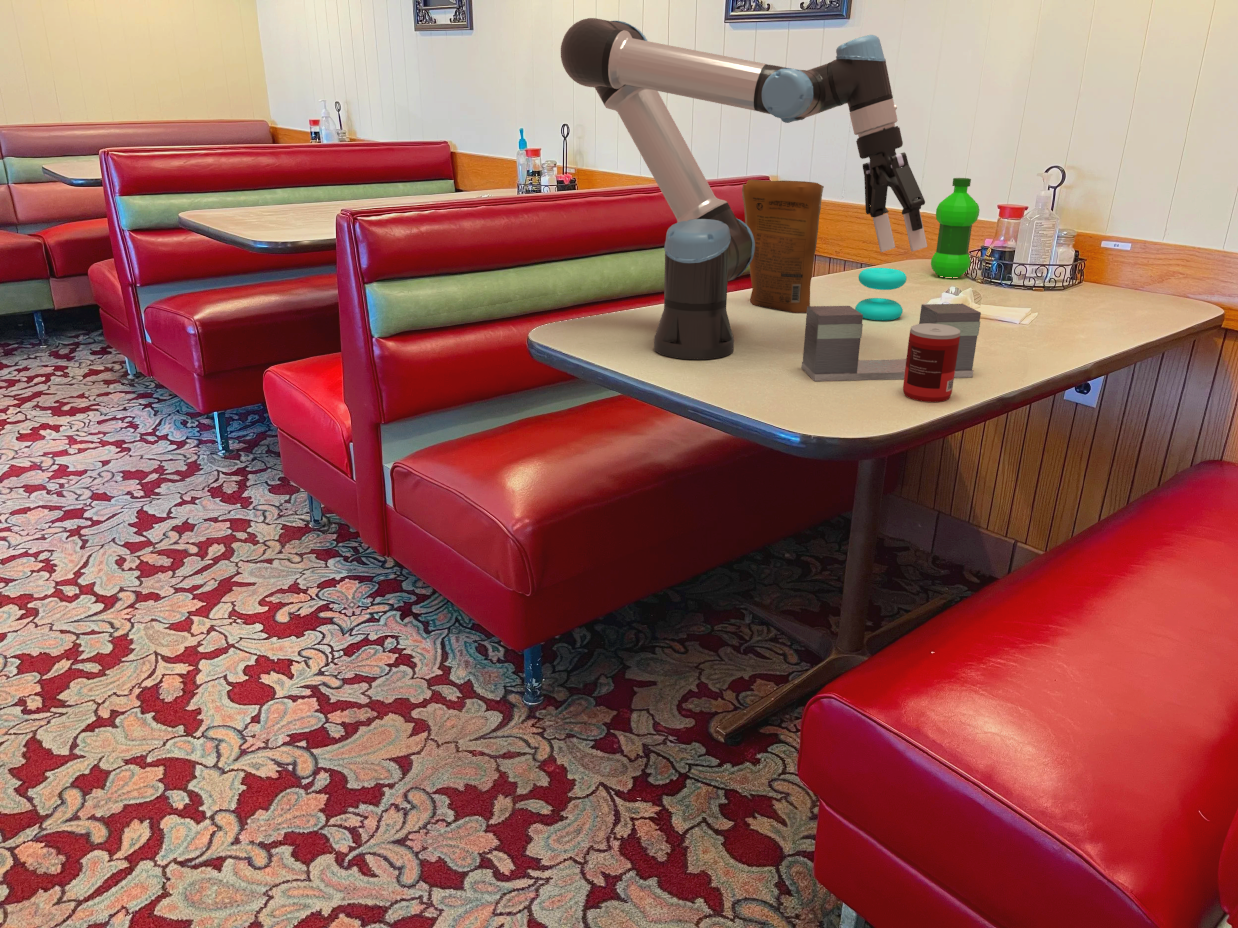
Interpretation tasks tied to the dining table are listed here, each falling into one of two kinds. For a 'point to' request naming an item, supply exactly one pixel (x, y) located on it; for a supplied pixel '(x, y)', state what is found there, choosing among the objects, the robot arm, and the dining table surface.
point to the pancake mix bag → (782, 241)
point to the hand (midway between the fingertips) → (903, 249)
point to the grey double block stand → (841, 330)
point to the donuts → (881, 281)
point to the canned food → (931, 362)
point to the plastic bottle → (955, 231)
